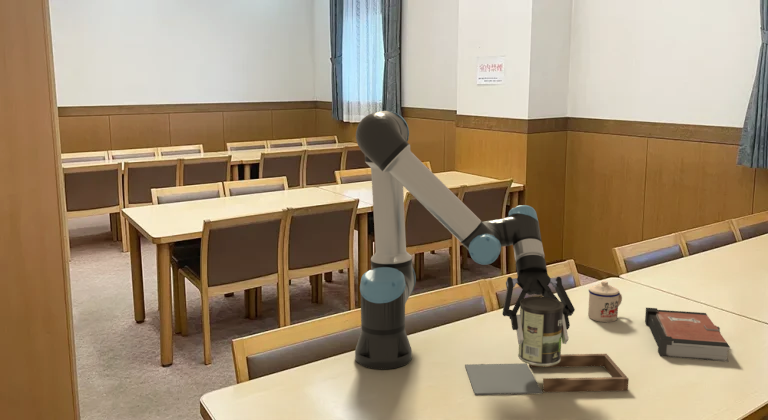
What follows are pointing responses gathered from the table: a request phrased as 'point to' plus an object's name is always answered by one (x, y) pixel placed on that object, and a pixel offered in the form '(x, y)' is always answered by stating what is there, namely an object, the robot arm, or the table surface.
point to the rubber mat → (502, 379)
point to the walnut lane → (586, 384)
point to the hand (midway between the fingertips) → (543, 341)
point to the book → (686, 335)
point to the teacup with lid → (604, 302)
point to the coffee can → (541, 331)
